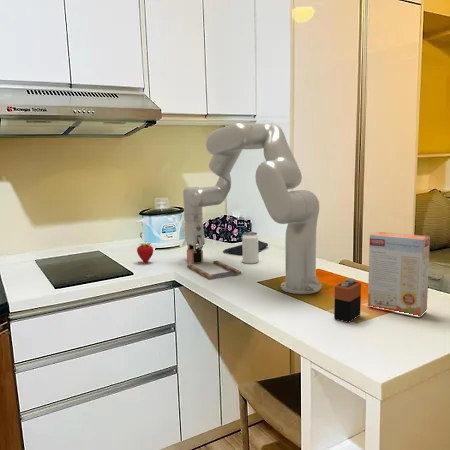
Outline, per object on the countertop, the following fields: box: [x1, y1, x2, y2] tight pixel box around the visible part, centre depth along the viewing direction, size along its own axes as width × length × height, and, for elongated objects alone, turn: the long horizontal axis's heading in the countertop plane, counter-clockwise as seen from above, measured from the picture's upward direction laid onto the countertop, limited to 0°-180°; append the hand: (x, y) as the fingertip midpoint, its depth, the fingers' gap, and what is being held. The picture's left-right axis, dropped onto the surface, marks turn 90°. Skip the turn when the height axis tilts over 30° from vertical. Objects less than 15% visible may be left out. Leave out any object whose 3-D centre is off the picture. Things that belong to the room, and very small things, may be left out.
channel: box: [186, 260, 242, 281], centre depth 159 cm, size 20×13×1 cm, turn 28°
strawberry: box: [136, 241, 154, 264], centre depth 173 cm, size 6×8×10 cm
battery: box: [333, 277, 362, 323], centre depth 109 cm, size 4×7×10 cm, turn 137°
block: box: [186, 249, 204, 265], centre depth 174 cm, size 5×5×5 cm
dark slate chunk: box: [222, 240, 269, 257], centre depth 193 cm, size 15×22×5 cm
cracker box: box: [367, 231, 431, 316], centre depth 112 cm, size 14×6×21 cm, turn 48°
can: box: [241, 231, 259, 265], centre depth 170 cm, size 6×6×12 cm
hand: (194, 260), depth 174 cm, fingers closed on block, 5 cm apart
